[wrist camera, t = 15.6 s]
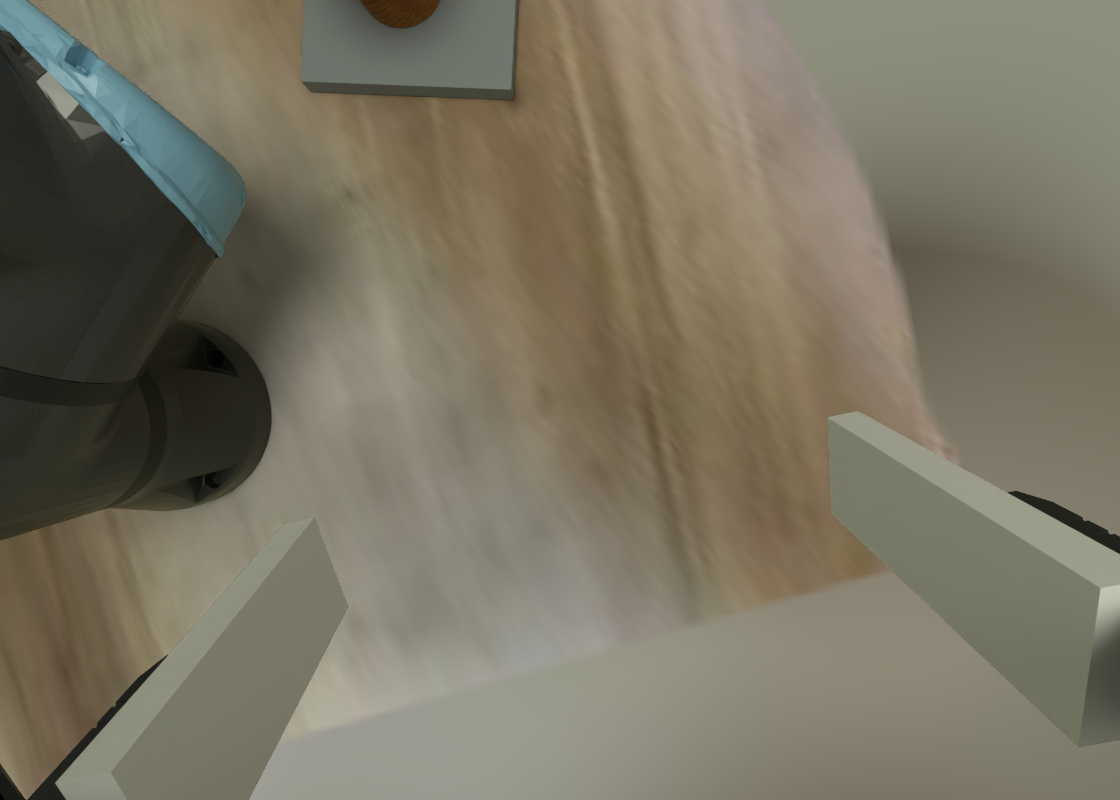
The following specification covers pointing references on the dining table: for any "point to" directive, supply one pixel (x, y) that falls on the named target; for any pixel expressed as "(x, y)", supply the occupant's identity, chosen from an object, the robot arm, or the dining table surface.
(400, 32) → the slate board
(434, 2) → the disposable coffee cup
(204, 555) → the dining table surface
